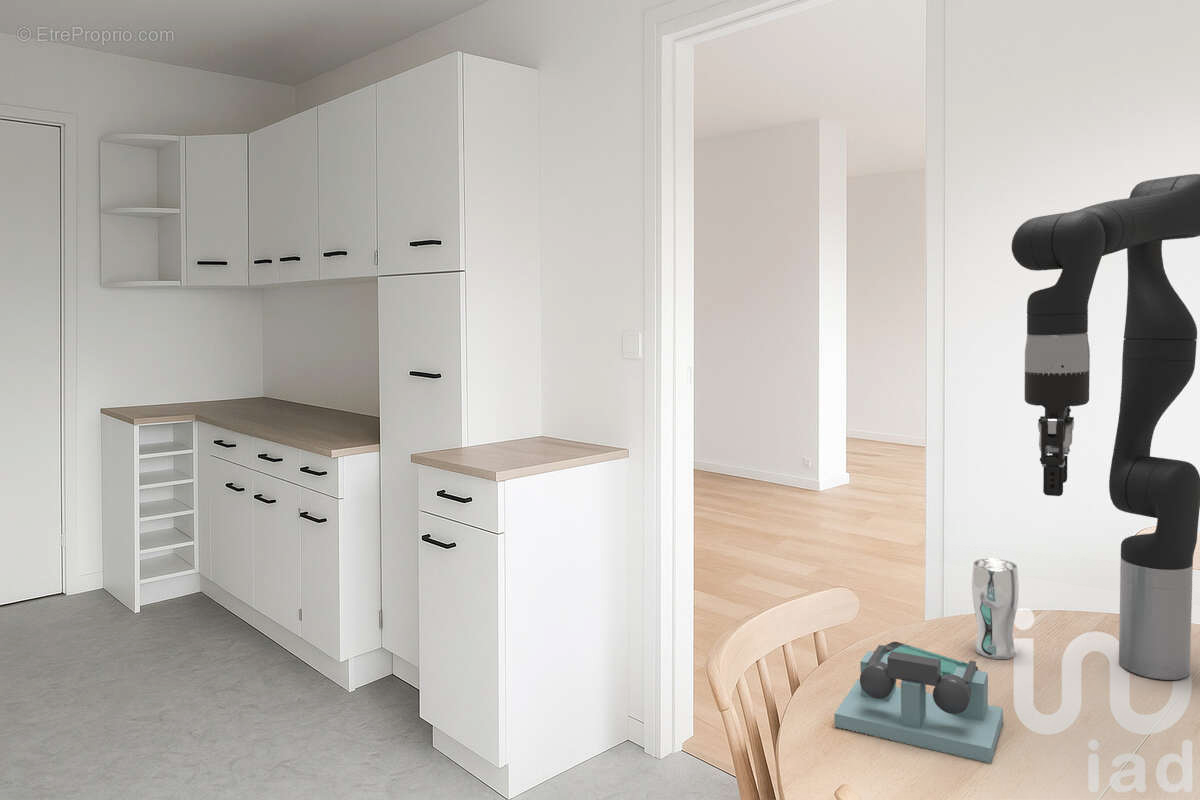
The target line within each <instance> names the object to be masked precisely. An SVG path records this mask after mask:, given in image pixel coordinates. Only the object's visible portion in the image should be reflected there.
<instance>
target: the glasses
mask: <svg viewBox="0 0 1200 800" xmlns="http://www.w3.org/2000/svg"><path fill="white" fill-rule="evenodd" d="M874 651H875V652H874ZM874 651H873V652H874V653H873V655H872V656H871V658H870V659H869V661H868V662H867V666H866V667H865V669H864V670H863V672H862V673H861V672H860V676H859V679H860V685H861V687H862V689H863V690H864V692H865V693H866V694H868V695H869V696H871V697H873V698H876V699H883V698H886V697H887V696H889V695H890V693H891V692H892V690H893V688H894V686H895V684H896V683H897V680H900V681H902V680H904V681H910V682H915V683H920V684H925V685H926V686H931V687H933V691H932V694H933V699H934V702H935V703H936V705H937V706H938V707H939V708H940V709H941V710H943V711H944V712H946V713H949V714H959V713H962V712H963V711H965V710H966V708H967V706H968V704H969V701H970V698H971V689H970V684H971V681H972V679H973V676H974V674H975V671H976V666H977V661H976V660H969V662H968V666H967V668H966V671H965V673H964V676H963V678H961V677H959V676H956V675H952V674H948V675H944V676H942V677H941V660H940V659H934V658H928V657H923V656H917V655H911V654H905V653H900V652H894V651H891V653H890V654H889V656H888V658H887V663H888V665H887V664H886V663H884V662H880V660H881V659H882V657H883V656H884V654H885V645H882V644H879V645H878V646H877V648H875V650H874ZM896 685H897V684H896Z"/></svg>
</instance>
